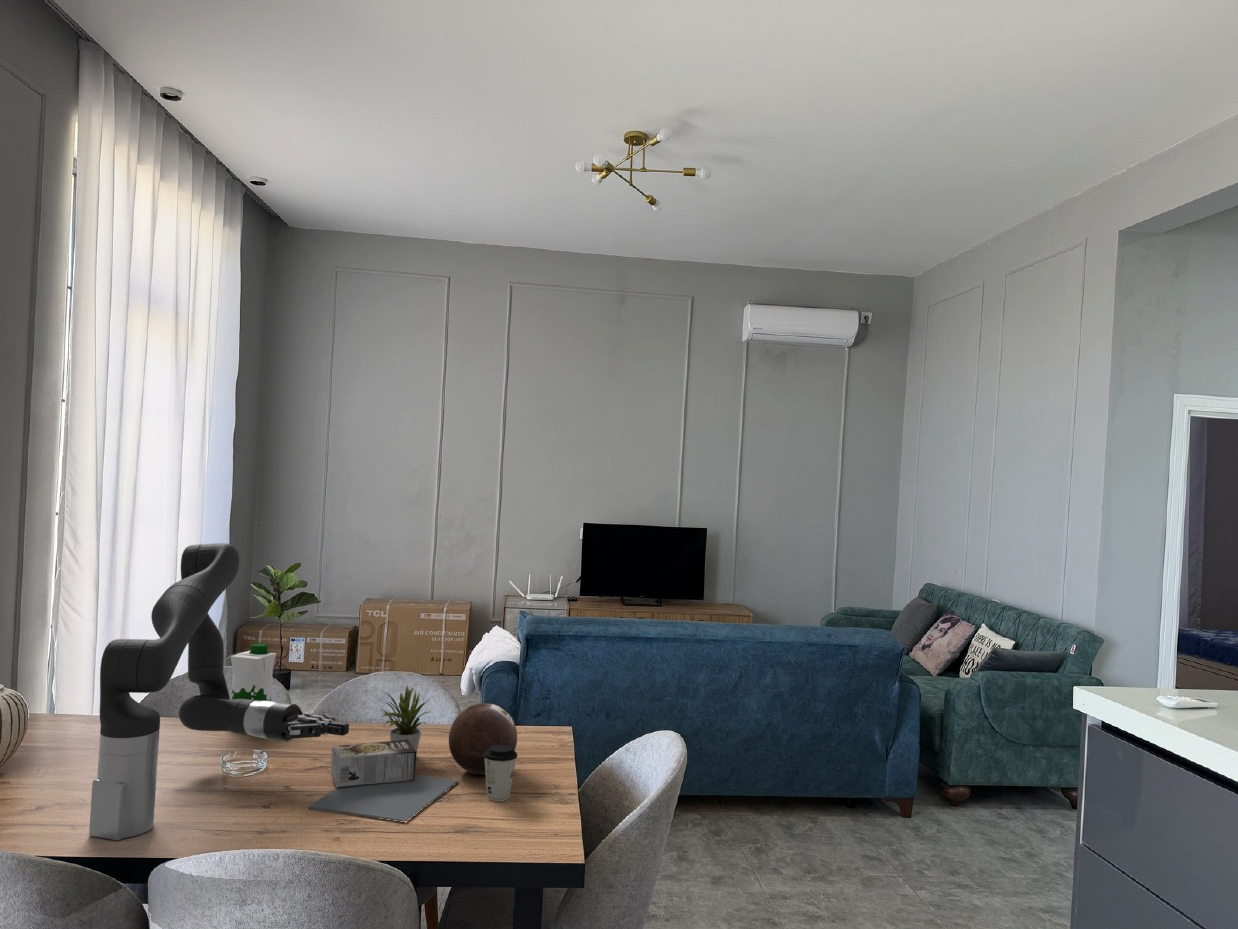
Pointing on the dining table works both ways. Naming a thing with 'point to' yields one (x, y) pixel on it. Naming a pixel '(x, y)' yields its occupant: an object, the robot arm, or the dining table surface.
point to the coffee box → (373, 763)
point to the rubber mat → (385, 798)
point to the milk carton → (253, 673)
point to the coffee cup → (499, 771)
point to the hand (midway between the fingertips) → (347, 729)
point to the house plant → (405, 719)
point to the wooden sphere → (480, 735)
